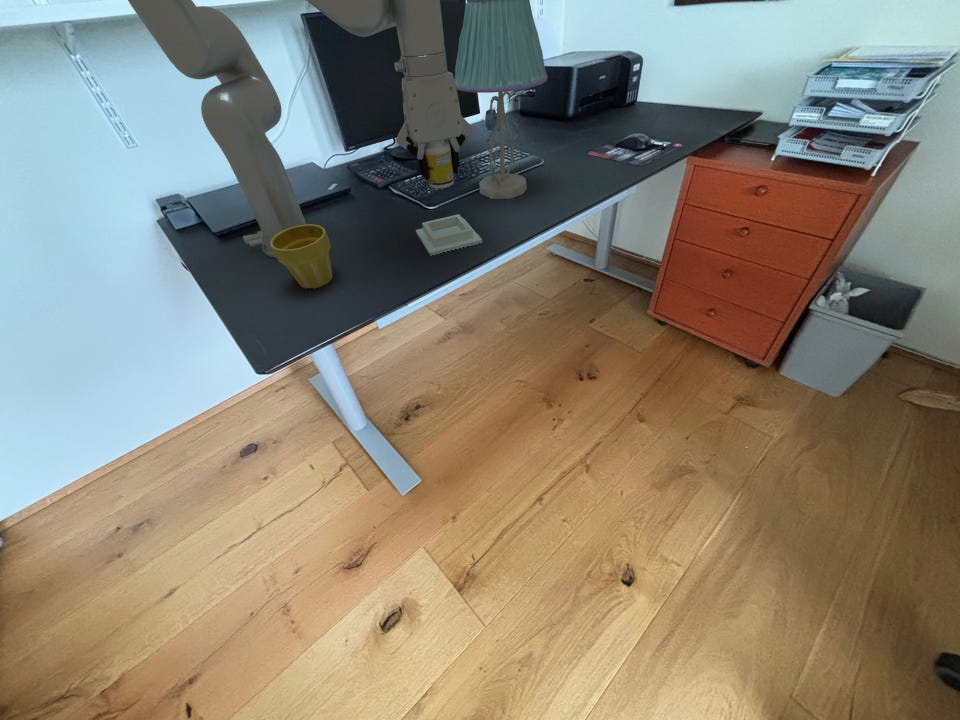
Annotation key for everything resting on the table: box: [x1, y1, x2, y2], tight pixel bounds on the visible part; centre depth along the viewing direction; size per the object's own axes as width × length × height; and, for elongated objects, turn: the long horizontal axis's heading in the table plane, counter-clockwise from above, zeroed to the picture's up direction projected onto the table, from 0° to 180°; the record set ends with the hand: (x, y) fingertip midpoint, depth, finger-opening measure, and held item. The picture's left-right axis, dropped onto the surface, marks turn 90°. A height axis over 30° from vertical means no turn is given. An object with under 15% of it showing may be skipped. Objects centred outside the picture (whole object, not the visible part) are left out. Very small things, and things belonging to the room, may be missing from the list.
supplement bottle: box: [424, 139, 455, 189], centre depth 80 cm, size 5×5×10 cm
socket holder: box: [415, 214, 483, 257], centre depth 91 cm, size 12×12×3 cm
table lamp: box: [454, 0, 549, 200], centre depth 96 cm, size 22×22×40 cm
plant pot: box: [270, 223, 334, 290], centre depth 79 cm, size 10×10×10 cm
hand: (440, 173), depth 82 cm, fingers closed on supplement bottle, 5 cm apart
